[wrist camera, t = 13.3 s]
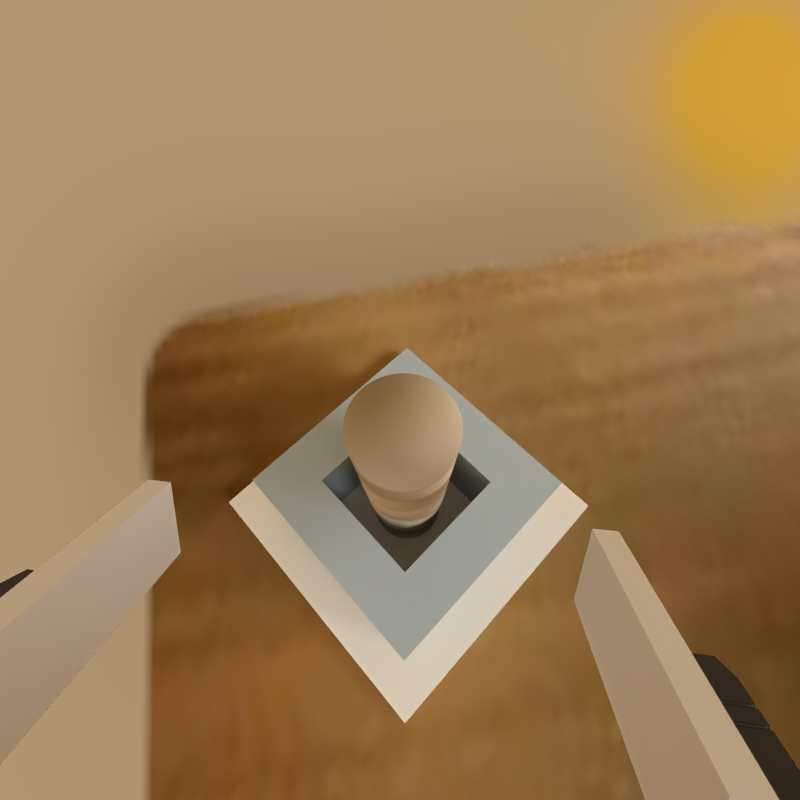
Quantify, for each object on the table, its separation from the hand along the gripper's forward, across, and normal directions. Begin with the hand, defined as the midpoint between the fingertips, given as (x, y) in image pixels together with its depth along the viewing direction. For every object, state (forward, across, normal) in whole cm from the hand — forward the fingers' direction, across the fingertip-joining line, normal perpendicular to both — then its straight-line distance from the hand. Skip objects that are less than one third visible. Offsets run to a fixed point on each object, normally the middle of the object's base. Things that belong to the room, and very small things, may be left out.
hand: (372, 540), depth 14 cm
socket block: (+13, 0, -8) cm, 15 cm away
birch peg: (+12, 0, -7) cm, 14 cm away
